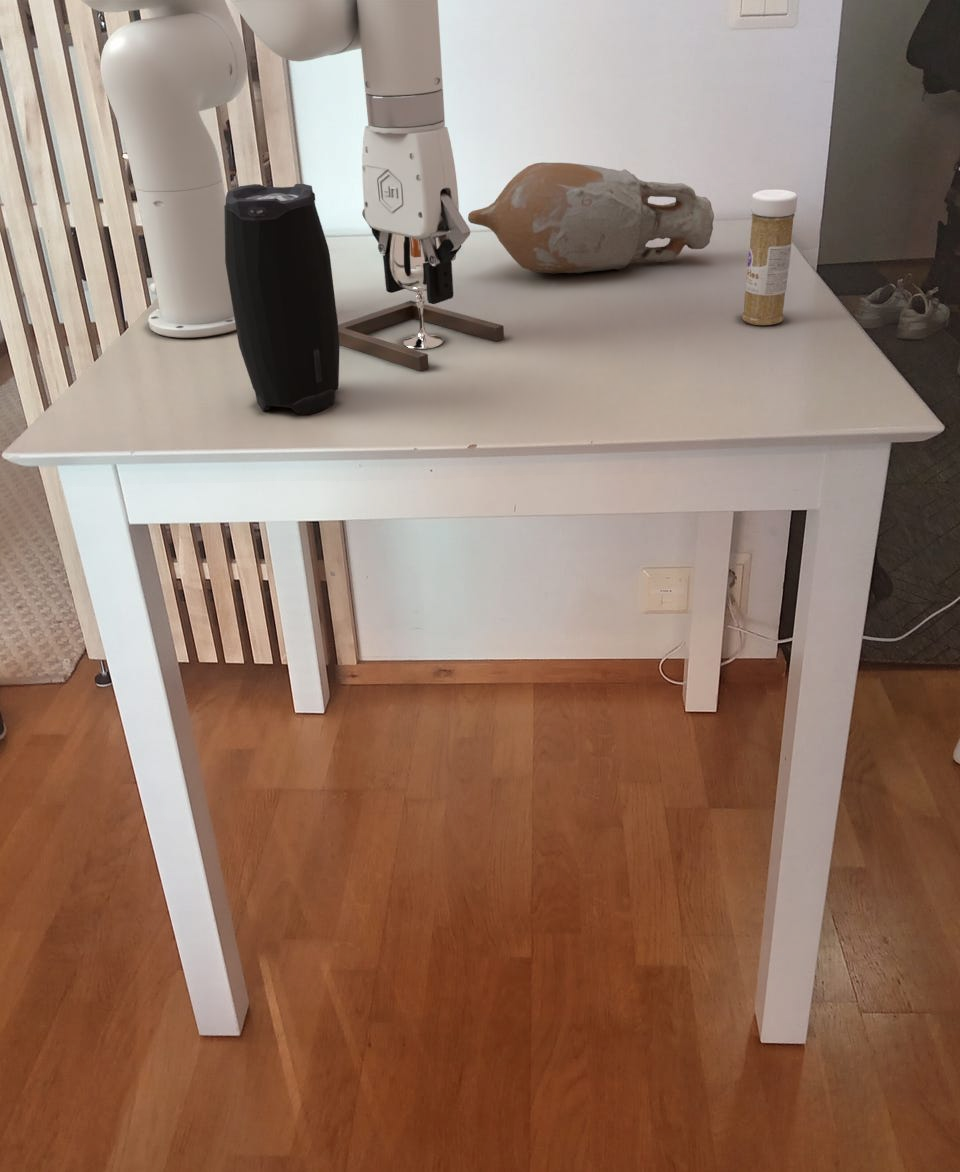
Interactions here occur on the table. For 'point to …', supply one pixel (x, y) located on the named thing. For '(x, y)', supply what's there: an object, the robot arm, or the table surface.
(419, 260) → the wineglass
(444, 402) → the table surface
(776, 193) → the sprinkles bottle
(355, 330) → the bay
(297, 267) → the portable speaker
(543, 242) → the amphora
